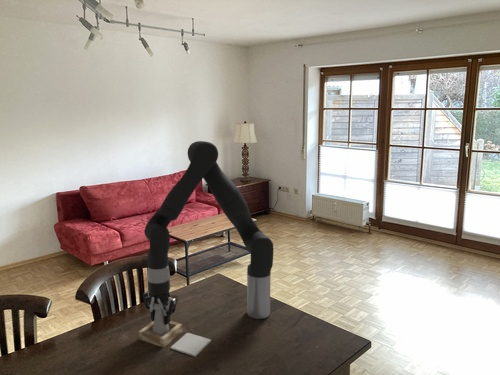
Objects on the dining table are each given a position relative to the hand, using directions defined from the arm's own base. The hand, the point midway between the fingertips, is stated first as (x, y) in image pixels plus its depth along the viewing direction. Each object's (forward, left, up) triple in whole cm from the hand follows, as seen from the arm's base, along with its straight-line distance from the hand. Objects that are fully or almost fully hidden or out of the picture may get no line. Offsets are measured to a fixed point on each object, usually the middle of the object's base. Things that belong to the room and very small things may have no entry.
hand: (160, 321), depth 142 cm
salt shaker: (0, 0, -6) cm, 6 cm away
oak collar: (0, 0, -5) cm, 5 cm away
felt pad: (0, +13, -5) cm, 14 cm away
